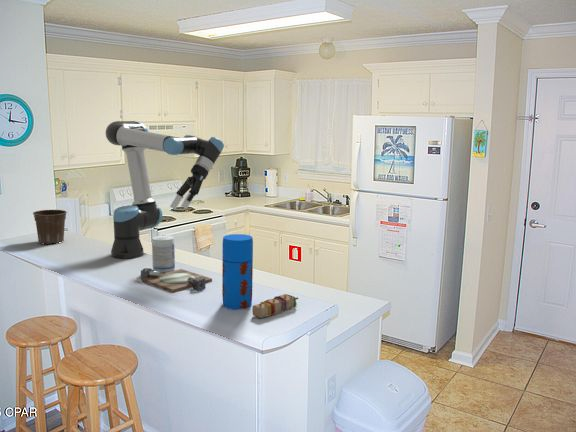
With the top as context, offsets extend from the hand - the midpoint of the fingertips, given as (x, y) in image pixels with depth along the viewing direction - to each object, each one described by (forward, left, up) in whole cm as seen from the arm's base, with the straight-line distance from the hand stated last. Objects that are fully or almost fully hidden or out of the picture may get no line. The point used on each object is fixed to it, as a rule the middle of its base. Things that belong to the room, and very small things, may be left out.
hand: (178, 207), depth 229 cm
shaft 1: (+6, -19, -27) cm, 34 cm away
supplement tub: (-1, -7, -27) cm, 28 cm away
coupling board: (+16, -13, -27) cm, 34 cm away
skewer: (+68, -10, -28) cm, 74 cm away
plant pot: (-85, -16, -27) cm, 91 cm away
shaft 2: (+27, -13, -27) cm, 41 cm away
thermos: (+53, -15, -27) cm, 61 cm away
